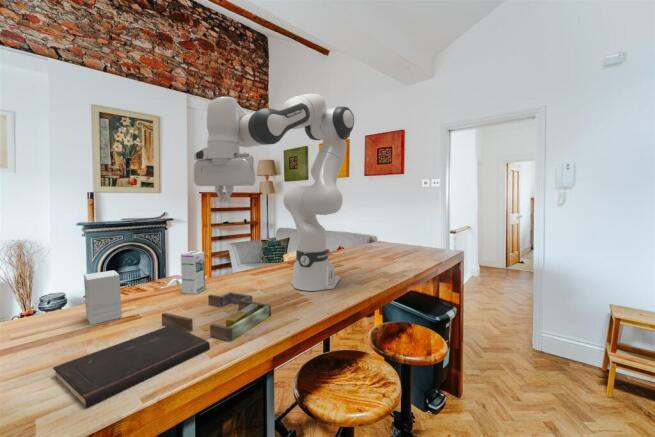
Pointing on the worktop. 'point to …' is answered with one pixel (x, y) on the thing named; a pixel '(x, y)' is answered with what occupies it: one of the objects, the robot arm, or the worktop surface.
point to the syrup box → (193, 272)
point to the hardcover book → (128, 363)
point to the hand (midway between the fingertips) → (224, 201)
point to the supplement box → (102, 296)
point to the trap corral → (220, 330)
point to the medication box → (242, 314)
